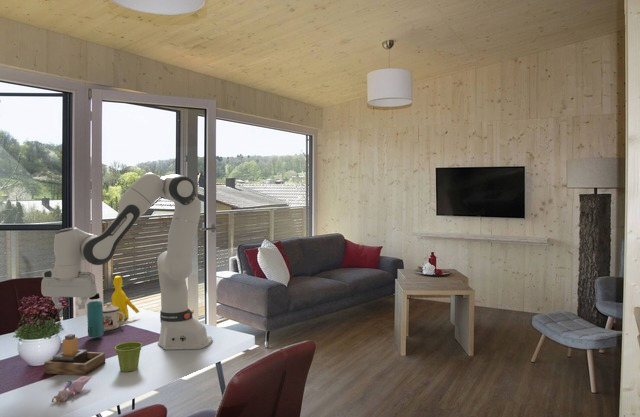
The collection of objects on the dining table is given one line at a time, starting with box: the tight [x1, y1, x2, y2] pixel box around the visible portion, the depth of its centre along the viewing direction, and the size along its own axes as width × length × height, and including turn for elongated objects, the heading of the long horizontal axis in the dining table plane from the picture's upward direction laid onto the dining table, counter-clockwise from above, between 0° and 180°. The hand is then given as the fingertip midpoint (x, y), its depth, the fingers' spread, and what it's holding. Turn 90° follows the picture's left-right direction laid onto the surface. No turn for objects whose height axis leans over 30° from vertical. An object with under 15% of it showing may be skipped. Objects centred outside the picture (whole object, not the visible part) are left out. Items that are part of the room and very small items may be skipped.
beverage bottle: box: [86, 292, 104, 338], centre depth 210 cm, size 6×7×20 cm
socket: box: [52, 348, 88, 363], centre depth 177 cm, size 8×8×4 cm
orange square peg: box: [62, 333, 79, 356], centre depth 177 cm, size 4×4×11 cm
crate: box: [43, 351, 106, 377], centre depth 177 cm, size 16×12×4 cm
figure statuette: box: [110, 275, 140, 321], centre depth 241 cm, size 18×8×22 cm, turn 85°
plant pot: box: [114, 341, 143, 373], centre depth 176 cm, size 9×9×9 cm
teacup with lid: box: [102, 302, 125, 331], centre depth 226 cm, size 12×9×12 cm
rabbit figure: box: [51, 375, 93, 405], centre depth 155 cm, size 6×6×15 cm
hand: (70, 308), depth 178 cm, fingers open, 8 cm apart
